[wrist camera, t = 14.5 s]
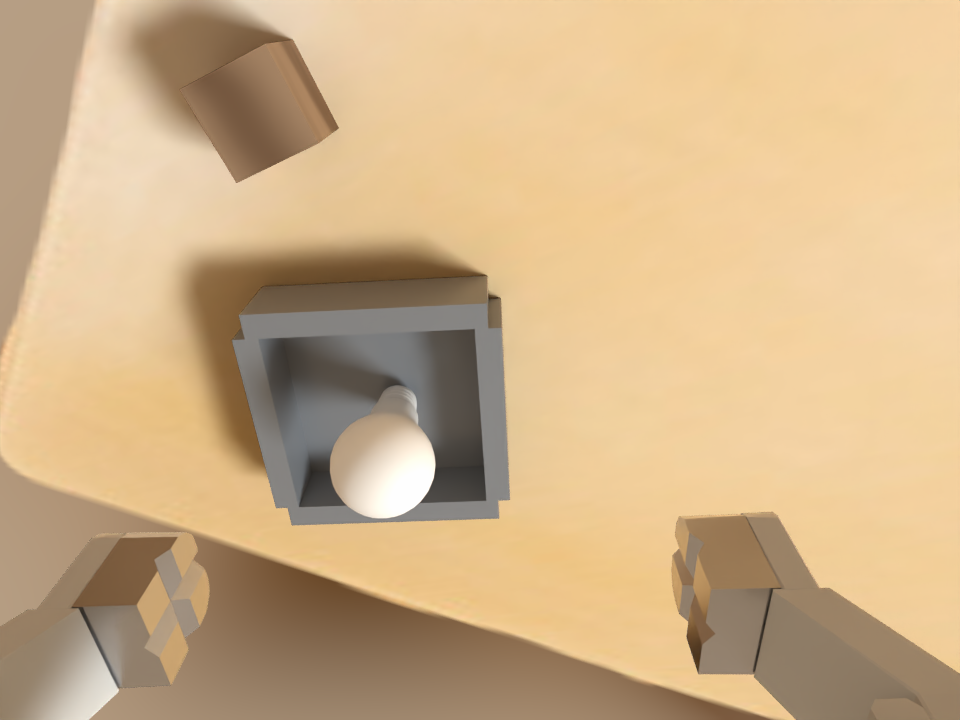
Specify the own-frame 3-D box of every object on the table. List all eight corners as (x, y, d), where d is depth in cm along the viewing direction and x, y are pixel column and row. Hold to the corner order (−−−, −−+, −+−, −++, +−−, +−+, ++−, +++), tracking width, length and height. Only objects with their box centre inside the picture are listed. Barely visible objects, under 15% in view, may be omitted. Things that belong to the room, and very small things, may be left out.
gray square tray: (499, 275, 42) (500, 302, 38) (509, 477, 49) (510, 518, 45) (250, 287, 42) (225, 315, 38) (297, 484, 50) (280, 525, 46)
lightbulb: (423, 443, 47) (405, 555, 37) (343, 412, 46) (304, 519, 36) (458, 377, 45) (448, 478, 35) (374, 342, 43) (340, 437, 34)
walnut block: (293, 39, 36) (265, 43, 31) (339, 127, 38) (318, 143, 33) (217, 80, 37) (179, 89, 32) (265, 163, 39) (236, 183, 34)
